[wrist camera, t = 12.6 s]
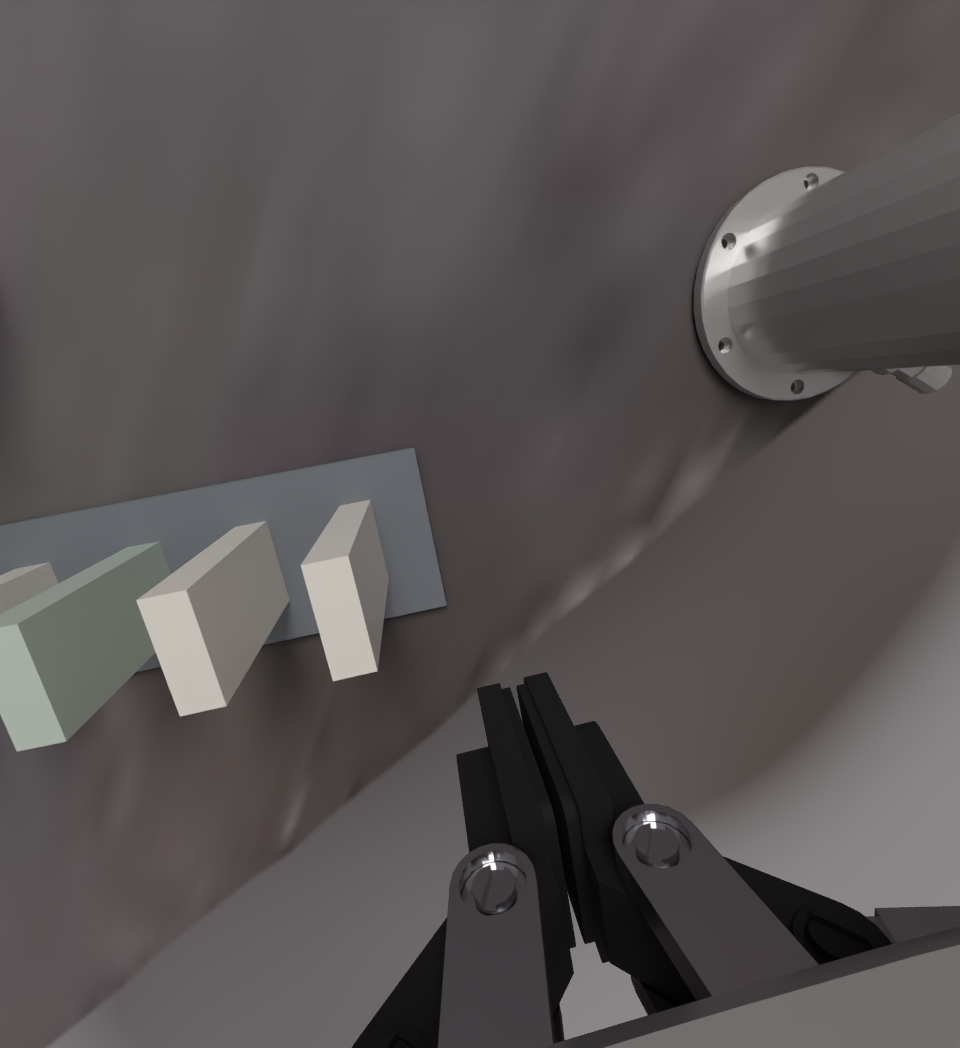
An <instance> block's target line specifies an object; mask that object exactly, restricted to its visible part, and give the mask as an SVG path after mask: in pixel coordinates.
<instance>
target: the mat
mask: <svg viewBox="0 0 960 1048" xmlns="http://www.w3.org/2000/svg"><path fill="white" fill-rule="evenodd" d="M366 500H371V505H372V509H373V513H374V517H375V522H376V526H377V530H378V535H379V539H380V543H381V547H382V552H383V556H384V560H385V564H386V569H387V573H388V577H389V581H388V589H387V598H386V606H385V614H384V619H387V618H391V617H396V616H401V615H405V614H410V613H415V612H419V611H424V610H429V609H433V608H438V607H443V606H447V604H446V599H445V594H444V589H443V585H442V580H441V575H440V570H439V565H438V560H437V555H436V550H435V546H434V541H433V536H432V531H431V526H430V521H429V516H428V512H427V507H426V502H425V497H424V492H423V487H422V482H421V477H420V473H419V468H418V463H417V458H416V453H415V448H414V447H412V448H407V449H402V450H396V451H391V452H386V453H380V454H375V455H370V456H364V457H359V458H354V459H348V460H343V461H338V462H332V463H327V464H322V465H316V466H311V467H306V468H300V469H295V470H290V471H284V472H279V473H274V474H268V475H263V476H257V477H252V478H247V479H241V480H236V481H231V482H225V483H220V484H215V485H209V486H204V487H199V488H193V489H188V490H183V491H177V492H172V493H167V494H161V495H156V496H151V497H145V498H140V499H135V500H129V501H124V502H119V503H113V504H108V505H103V506H97V507H92V508H87V509H81V510H76V511H71V512H65V513H60V514H55V515H49V516H44V517H39V518H33V519H28V520H23V521H17V522H12V523H7V524H1V525H0V575H3V574H5V573H7V572H9V571H12V570H14V569H17V568H22V567H27V566H33V565H38V564H43V563H48V562H50V564H51V567H52V569H53V571H54V574H55V576H56V579H57V581H58V583H61V582H63V581H64V580H66V579H68V578H70V577H72V576H74V575H76V574H78V573H80V572H81V571H83V570H85V569H87V568H89V567H91V566H93V565H95V564H96V563H98V562H100V561H102V560H104V559H106V558H108V557H110V556H112V555H113V554H115V553H117V552H119V551H121V550H123V549H125V548H127V547H131V546H137V545H143V544H148V543H154V542H161V545H162V548H163V551H164V554H165V557H166V561H167V564H168V567H169V570H170V573H171V574H172V573H174V572H175V571H176V570H178V569H179V568H180V567H182V566H183V565H184V564H186V563H187V562H188V561H190V560H191V559H192V558H194V557H195V556H196V555H198V554H199V553H201V552H202V551H203V550H205V549H206V548H207V547H209V546H210V545H211V544H213V543H214V542H215V541H217V540H218V539H219V538H221V537H222V536H223V535H225V534H226V533H227V532H229V531H230V530H232V529H233V528H234V527H238V526H243V525H248V524H253V523H258V522H263V521H267V524H268V527H269V531H270V534H271V538H272V541H273V545H274V548H275V552H276V555H277V558H278V562H279V565H280V569H281V572H282V576H283V579H284V582H285V586H286V589H287V593H288V596H289V602H288V604H287V605H286V607H285V609H284V610H283V612H282V614H281V616H280V617H279V619H278V621H277V622H276V624H275V626H274V627H273V629H272V631H271V632H270V634H269V636H268V637H267V639H266V641H265V642H264V644H263V645H265V644H270V643H274V642H279V641H284V640H288V639H293V638H298V637H302V636H307V635H312V634H316V633H319V629H318V626H317V622H316V619H315V615H314V611H313V608H312V604H311V601H310V597H309V594H308V590H307V586H306V583H305V579H304V576H303V572H302V569H301V564H302V562H303V561H304V559H305V558H306V556H307V555H308V553H309V552H310V550H311V549H312V547H313V546H314V544H315V543H316V541H317V540H318V538H319V536H320V535H321V533H322V532H323V530H324V529H325V527H326V526H327V524H328V523H329V521H330V520H331V518H332V517H333V515H334V513H335V512H336V510H337V509H338V507H339V506H341V505H346V504H351V503H356V502H361V501H366ZM158 667H161V665H160V662H159V660H158V657H157V654H156V652H155V653H154V654H153V655H152V656H151V657H150V658H149V659H148V660H147V661H146V662H145V663H144V664H143V665H142V666H141V667H140V668H139V669H138V670H137V671H136V672H139V671H144V670H148V669H153V668H158Z"/></svg>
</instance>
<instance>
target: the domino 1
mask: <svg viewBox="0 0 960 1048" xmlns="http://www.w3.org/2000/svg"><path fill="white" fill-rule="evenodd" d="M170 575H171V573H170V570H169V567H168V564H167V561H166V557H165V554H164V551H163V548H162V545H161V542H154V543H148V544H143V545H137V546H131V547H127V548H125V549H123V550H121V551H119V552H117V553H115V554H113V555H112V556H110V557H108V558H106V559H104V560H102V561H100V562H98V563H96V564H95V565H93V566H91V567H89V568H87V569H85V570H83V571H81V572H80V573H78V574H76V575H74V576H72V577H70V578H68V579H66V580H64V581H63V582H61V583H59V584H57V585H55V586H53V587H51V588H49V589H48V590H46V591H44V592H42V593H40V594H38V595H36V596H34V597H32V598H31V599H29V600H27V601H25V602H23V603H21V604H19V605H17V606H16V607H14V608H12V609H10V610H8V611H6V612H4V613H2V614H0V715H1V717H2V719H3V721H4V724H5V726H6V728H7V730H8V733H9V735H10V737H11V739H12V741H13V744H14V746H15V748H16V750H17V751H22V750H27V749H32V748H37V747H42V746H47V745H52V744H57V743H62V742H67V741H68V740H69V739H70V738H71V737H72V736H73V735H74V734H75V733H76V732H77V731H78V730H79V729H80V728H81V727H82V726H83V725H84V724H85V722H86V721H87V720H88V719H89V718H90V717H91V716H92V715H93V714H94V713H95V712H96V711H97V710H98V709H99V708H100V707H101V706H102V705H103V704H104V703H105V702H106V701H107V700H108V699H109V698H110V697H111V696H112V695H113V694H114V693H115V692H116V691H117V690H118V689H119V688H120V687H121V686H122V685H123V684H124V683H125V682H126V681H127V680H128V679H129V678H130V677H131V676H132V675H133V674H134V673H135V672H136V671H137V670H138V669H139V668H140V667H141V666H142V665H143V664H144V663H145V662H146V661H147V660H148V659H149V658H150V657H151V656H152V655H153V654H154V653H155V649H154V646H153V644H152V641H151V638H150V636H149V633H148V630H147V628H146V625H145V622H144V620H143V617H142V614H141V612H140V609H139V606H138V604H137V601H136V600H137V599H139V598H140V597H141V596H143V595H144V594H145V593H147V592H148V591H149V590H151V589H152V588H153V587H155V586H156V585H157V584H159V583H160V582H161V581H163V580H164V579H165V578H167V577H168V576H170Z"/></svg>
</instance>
